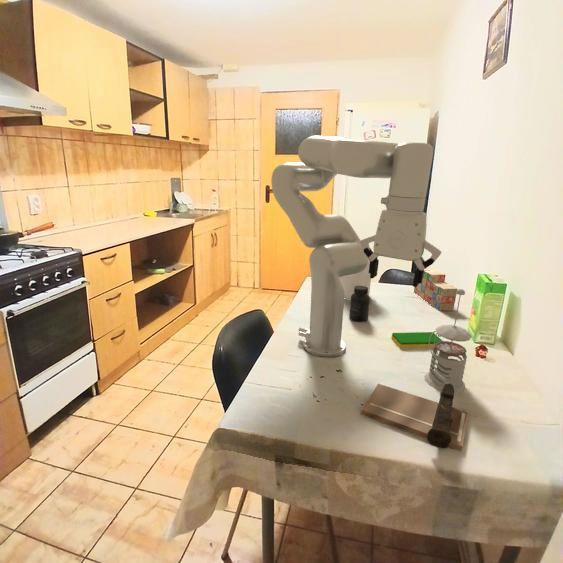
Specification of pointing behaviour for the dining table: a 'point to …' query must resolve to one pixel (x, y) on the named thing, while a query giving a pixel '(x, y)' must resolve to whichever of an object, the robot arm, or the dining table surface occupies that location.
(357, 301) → the supplement bottle
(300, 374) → the dining table surface
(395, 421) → the board
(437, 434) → the hand tool
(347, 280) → the canister
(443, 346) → the french press
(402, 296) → the dining table surface
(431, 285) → the stack of blocks
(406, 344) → the dish sponge
